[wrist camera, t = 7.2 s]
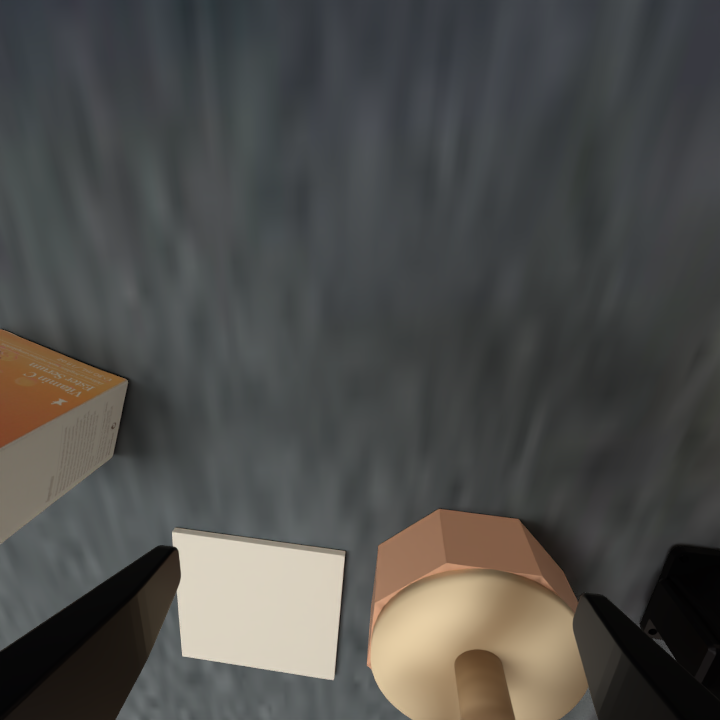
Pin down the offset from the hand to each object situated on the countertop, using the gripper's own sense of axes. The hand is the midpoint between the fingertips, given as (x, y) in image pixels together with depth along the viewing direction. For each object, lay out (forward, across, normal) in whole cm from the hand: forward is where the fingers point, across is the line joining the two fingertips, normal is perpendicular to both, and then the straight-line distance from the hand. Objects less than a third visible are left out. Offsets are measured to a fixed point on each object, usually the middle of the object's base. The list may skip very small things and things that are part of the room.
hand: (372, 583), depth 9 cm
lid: (+9, -6, +13) cm, 17 cm away
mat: (+13, +7, +17) cm, 23 cm away
